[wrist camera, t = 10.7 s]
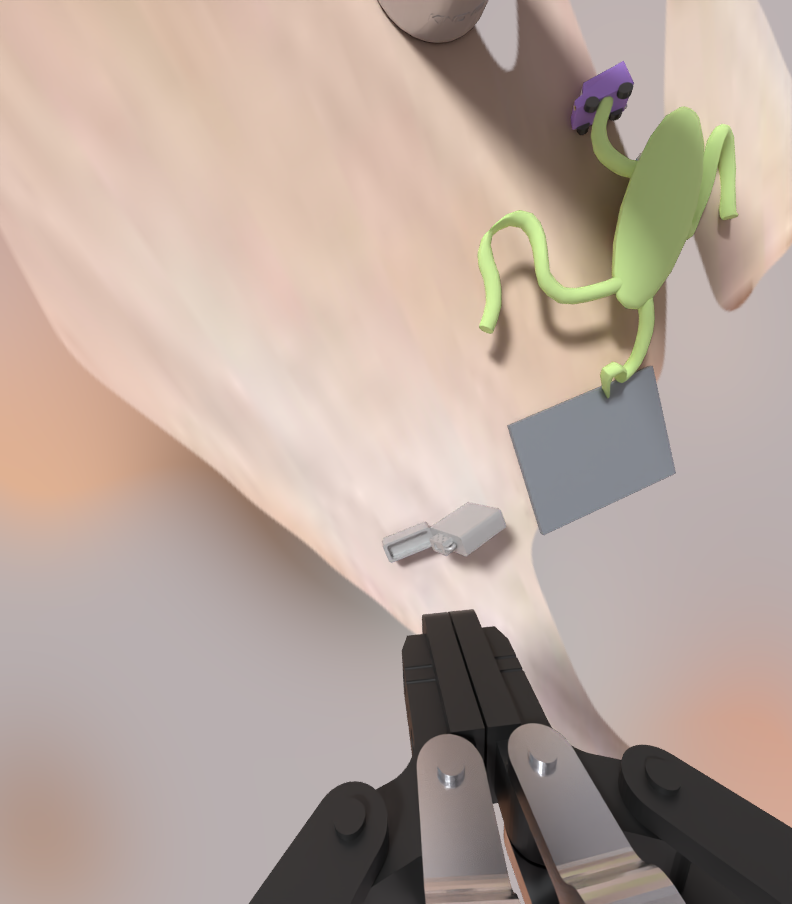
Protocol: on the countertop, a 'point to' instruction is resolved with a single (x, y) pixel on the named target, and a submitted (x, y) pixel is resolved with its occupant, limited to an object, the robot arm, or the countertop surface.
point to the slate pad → (593, 450)
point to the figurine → (632, 210)
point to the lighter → (448, 533)
